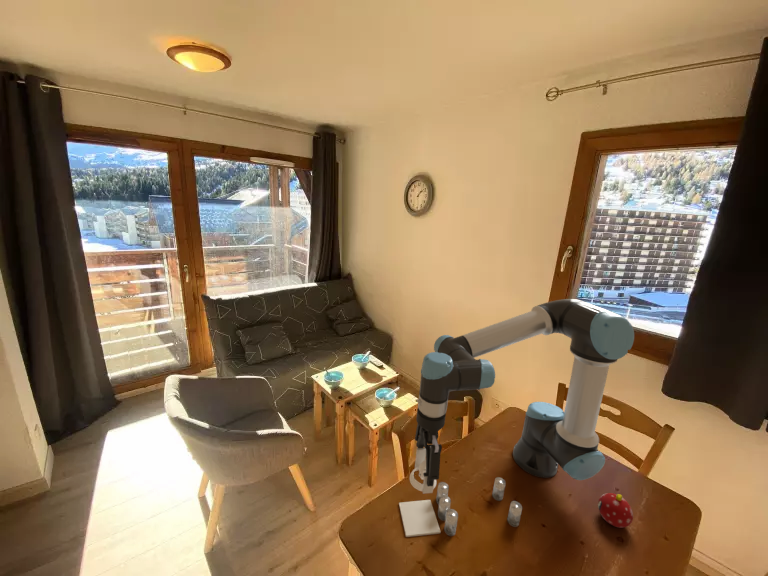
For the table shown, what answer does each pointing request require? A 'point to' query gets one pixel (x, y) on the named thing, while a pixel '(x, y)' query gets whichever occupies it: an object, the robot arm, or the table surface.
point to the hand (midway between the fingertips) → (423, 478)
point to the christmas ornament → (615, 510)
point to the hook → (417, 485)
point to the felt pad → (419, 518)
